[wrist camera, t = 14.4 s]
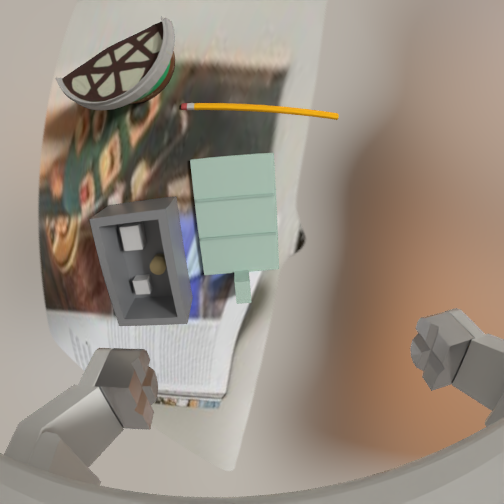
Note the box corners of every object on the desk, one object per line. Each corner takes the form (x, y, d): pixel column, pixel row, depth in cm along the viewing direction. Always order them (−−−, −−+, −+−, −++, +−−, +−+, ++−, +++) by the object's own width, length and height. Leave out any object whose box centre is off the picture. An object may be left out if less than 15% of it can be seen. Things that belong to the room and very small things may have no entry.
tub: (109, 205, 35) (89, 219, 29) (176, 196, 35) (165, 208, 30) (131, 301, 40) (119, 325, 35) (192, 297, 41) (187, 323, 35)
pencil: (182, 103, 31) (181, 103, 31) (336, 113, 33) (338, 113, 32) (182, 110, 32) (181, 109, 31) (336, 119, 33) (338, 119, 32)
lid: (190, 159, 34) (186, 162, 30) (273, 152, 34) (277, 154, 31) (207, 291, 40) (205, 306, 37) (278, 285, 41) (282, 299, 37)
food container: (109, 131, 31) (69, 134, 22) (93, 89, 29) (51, 80, 20) (202, 86, 30) (190, 68, 21) (184, 43, 28) (167, 13, 19)
